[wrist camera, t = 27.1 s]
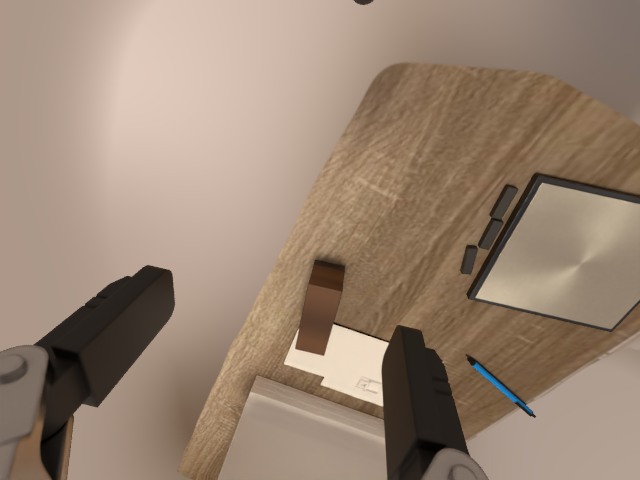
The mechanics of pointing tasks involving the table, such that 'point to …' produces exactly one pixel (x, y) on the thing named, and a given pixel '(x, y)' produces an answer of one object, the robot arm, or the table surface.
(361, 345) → the paper
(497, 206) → the stroke
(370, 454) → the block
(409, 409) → the robot arm
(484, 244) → the stroke
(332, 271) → the eraser
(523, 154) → the table surface
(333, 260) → the table surface
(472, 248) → the stroke
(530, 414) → the pen
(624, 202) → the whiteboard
